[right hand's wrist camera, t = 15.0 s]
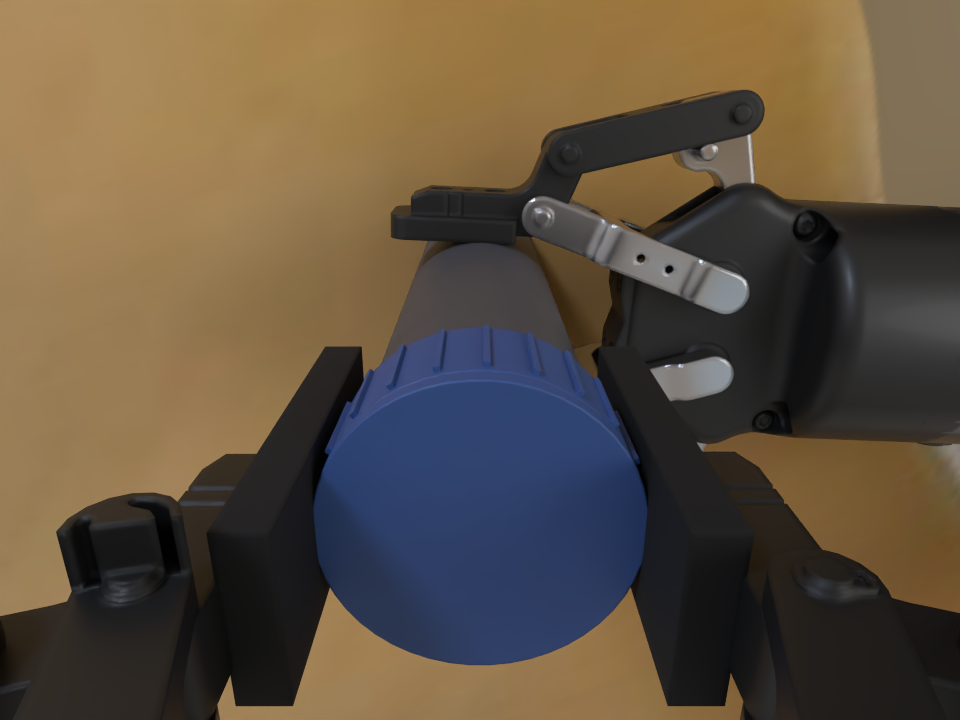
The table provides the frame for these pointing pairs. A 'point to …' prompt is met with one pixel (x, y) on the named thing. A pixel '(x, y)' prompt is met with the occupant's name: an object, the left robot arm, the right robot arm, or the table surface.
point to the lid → (480, 500)
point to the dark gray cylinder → (480, 294)
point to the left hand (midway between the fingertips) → (396, 303)
